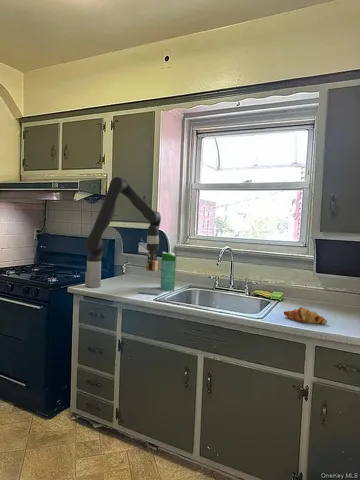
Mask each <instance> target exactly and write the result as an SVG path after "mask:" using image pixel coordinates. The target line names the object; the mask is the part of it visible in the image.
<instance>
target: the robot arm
mask: <svg viewBox="0 0 360 480" xmlns="http://www.w3.org/2000/svg"><path fill="white" fill-rule="evenodd" d="M106 192H107V193H106V195H105V198H104V200H103V203H102V204H101V207H100V210H99V212H98V214H97V217H96V220H95V222H94V223H93V228H91V229H92V230H91V231H90V233H89V235H88V237H87V239H86V241H85V247H86V249H87V250H88V251H89V253H88V255H87V257H86V271H85V274H84V278H85V279H84V281H85V282H84V286H85V287H87V288H94V289H95V288H100V287H101V282H102V281H101V280H102V258H103V254H104V241H103V239H102V236H103V234H104V232H105V230H106V229H107V228H108V227H109V225H110V224H111V222H112V221H113V218H114V215H115V211H116V203H117V202H116V201H117V198H118V197H119V194H121V195H124V196H125V197H126V198H127V199H128V200H129V201H130V203H131V204H132V205H133V207H135V208H136V210H137V211H139V212H140V213H141V214H142V216H143V217H144V218H145V219H146V220H147V222H149V226H148V227H147V237H146V250H147V251H149V252H148V253H147V261H148V264H149V270H152V264H153V261H158V251H159V248H160V247H159V246H160V238H159V236H160V235H159V233H160V225H161V220H162V217H161V214H160V212H158V211H156V210H153V209H152V208H151V205H150V204H149V203H148V202H146V200H144V199H143V198H142V197H141V196H140V195H139V194H138V193H136V192H135V190H134V189H133V188H132V187H131V186H130V184H129V183H128V182H127V181H126V179H124V178H122V177H119V176H115V177H113V178H112V179H111V180H110V182H109V185H108V188H107V191H106ZM150 260H151V261H150Z"/></svg>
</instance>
